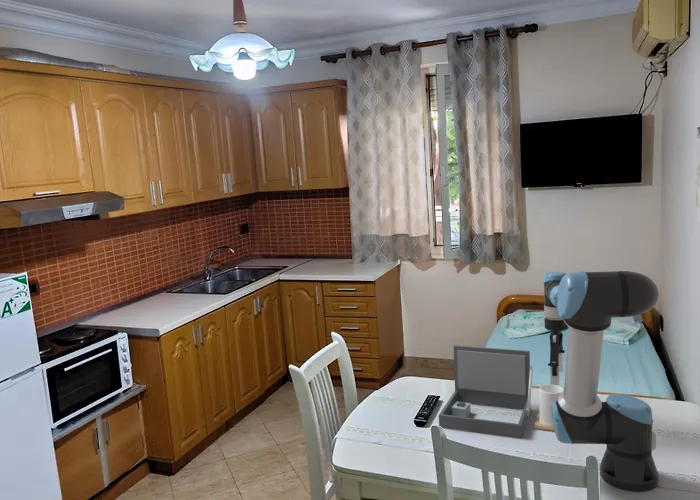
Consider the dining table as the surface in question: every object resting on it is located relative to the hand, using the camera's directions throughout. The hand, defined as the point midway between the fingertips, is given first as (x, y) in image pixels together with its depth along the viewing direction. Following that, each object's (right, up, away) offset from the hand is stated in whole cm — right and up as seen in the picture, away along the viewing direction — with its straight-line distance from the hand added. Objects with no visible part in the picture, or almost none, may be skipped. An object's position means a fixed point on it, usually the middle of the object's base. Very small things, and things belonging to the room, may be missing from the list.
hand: (556, 377), depth 200 cm
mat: (+1, -16, +3) cm, 17 cm away
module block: (-30, -17, +14) cm, 37 cm away
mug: (+1, -16, +3) cm, 17 cm away
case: (-22, -17, +10) cm, 29 cm away
